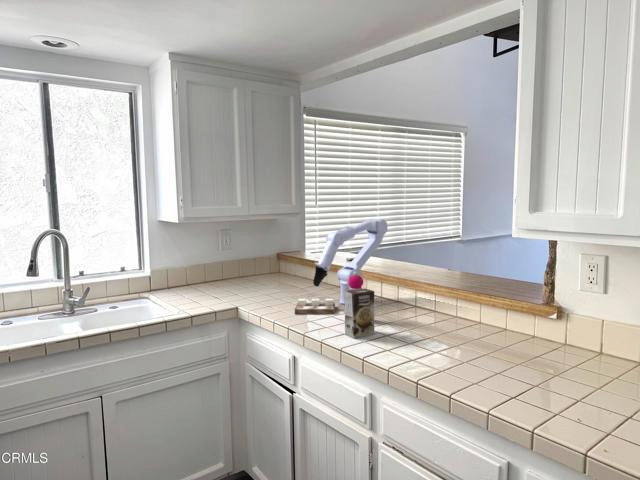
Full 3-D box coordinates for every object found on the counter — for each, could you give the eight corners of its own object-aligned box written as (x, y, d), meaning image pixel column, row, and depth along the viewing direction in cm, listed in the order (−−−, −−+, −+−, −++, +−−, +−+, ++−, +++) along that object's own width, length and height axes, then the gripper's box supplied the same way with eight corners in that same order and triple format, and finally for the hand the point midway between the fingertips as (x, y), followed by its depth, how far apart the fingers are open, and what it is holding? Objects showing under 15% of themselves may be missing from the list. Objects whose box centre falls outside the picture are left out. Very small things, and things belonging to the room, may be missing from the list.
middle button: (319, 305, 198) (319, 298, 198) (319, 307, 195) (318, 300, 195) (312, 305, 198) (312, 298, 198) (311, 307, 195) (311, 300, 195)
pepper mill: (367, 319, 181) (367, 270, 178) (361, 324, 174) (361, 273, 172) (350, 317, 184) (350, 269, 181) (344, 322, 177) (343, 272, 175)
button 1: (306, 305, 199) (305, 298, 198) (305, 307, 195) (305, 300, 195) (298, 305, 199) (298, 298, 198) (298, 307, 196) (297, 300, 195)
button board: (334, 306, 201) (334, 301, 201) (334, 314, 189) (334, 308, 189) (297, 307, 202) (297, 301, 202) (294, 314, 190) (294, 308, 190)
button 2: (332, 305, 198) (332, 298, 197) (332, 307, 195) (332, 300, 194) (325, 305, 198) (325, 298, 198) (325, 307, 195) (325, 300, 194)
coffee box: (353, 338, 157) (353, 294, 155) (344, 333, 163) (343, 290, 161) (375, 334, 161) (375, 290, 159) (365, 329, 167) (365, 287, 165)
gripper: (319, 256, 207) (307, 283, 205) (319, 250, 193) (306, 279, 190) (333, 262, 207) (321, 289, 204) (334, 256, 192) (321, 285, 190)
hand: (315, 284), depth 197 cm, fingers open, 7 cm apart
